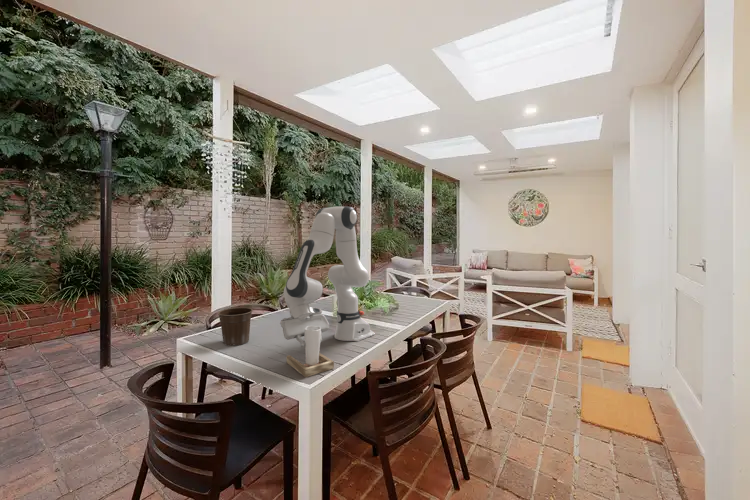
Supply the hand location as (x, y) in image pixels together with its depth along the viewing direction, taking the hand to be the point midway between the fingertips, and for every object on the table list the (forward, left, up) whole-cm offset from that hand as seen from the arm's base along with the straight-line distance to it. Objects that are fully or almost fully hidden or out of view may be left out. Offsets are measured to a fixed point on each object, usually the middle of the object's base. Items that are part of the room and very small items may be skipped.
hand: (312, 343), depth 132 cm
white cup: (0, 0, -9) cm, 9 cm away
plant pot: (+16, -51, -10) cm, 55 cm away
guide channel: (0, -2, -10) cm, 11 cm away
